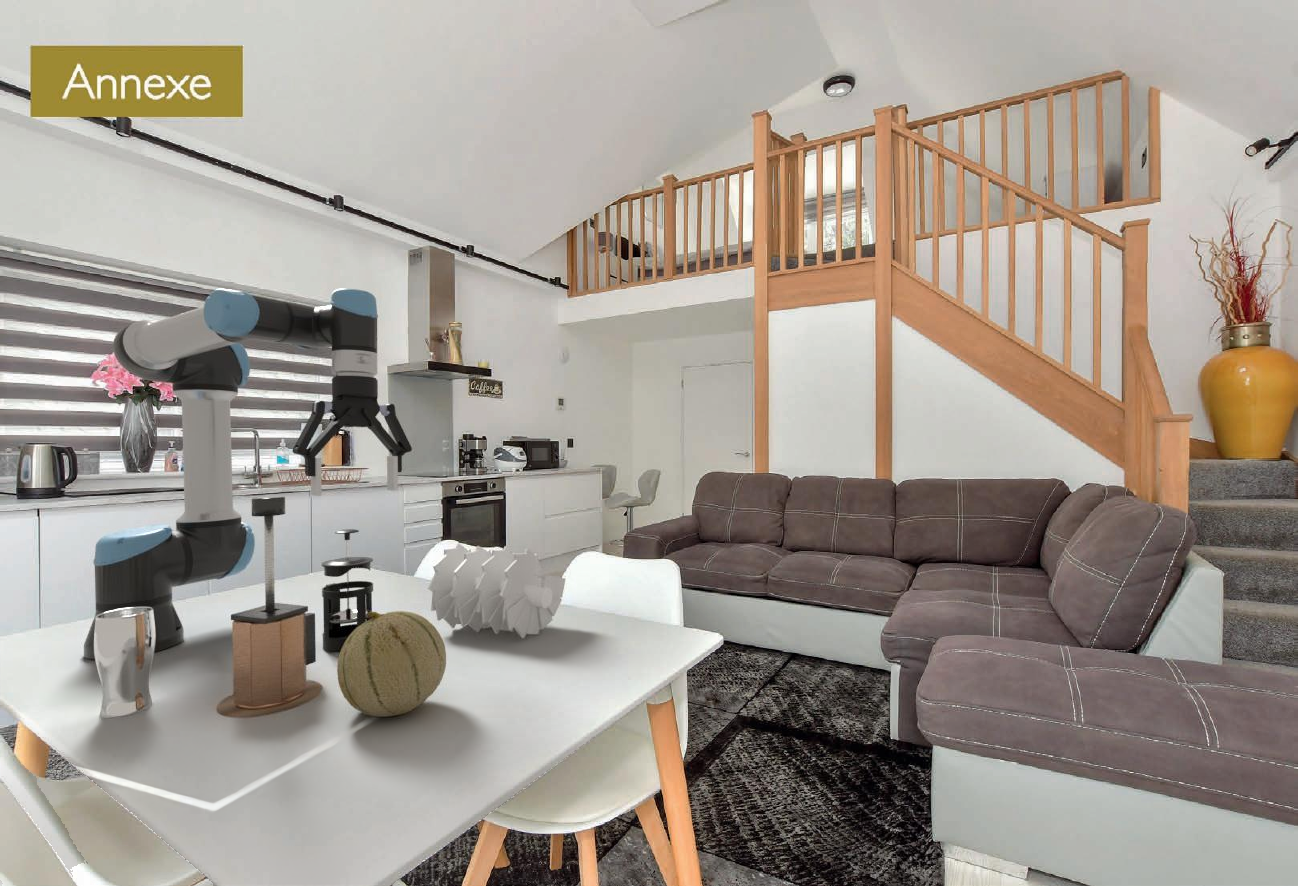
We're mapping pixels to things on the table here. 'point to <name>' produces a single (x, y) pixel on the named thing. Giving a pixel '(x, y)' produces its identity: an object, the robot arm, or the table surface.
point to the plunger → (269, 540)
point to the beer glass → (124, 659)
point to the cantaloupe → (391, 663)
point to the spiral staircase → (494, 590)
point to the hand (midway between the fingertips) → (356, 492)
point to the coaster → (231, 710)
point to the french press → (332, 595)
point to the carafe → (271, 655)
